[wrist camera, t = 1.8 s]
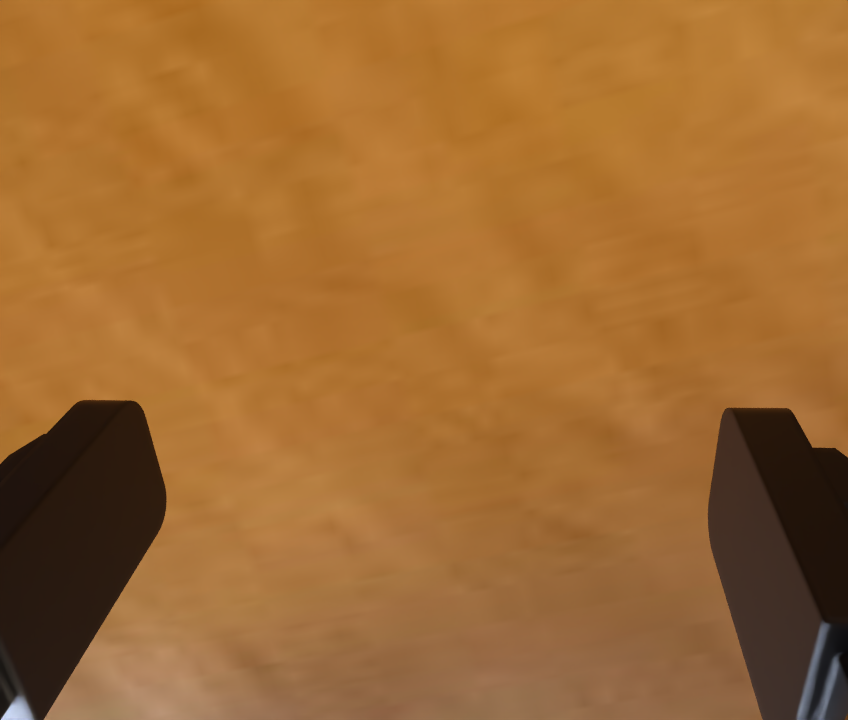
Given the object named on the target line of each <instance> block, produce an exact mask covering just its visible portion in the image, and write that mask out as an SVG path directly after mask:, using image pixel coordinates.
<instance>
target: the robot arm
mask: <svg viewBox="0 0 848 720" xmlns="http://www.w3.org/2000/svg"><path fill="white" fill-rule="evenodd" d="M165 511H166V489H165V484H164V481H163V477H162V474H161V470H160V467H159V463H158V460H157V456H156V452H155V449H154V445H153V442H152V438H151V435H150V431H149V427H148V424H147V420H146V417H145V414H144V411H143V410H142V408H141V406H140V405H139V404H138V403H137V402H135V401H115V400H83V401H79V402H77V403H76V404H75V405H74V406H73V407H72V408H71V409H70V410H69V411H68V412H67V413H66V414H65V415H64V416H63V417H62V418H61V419H60V420H59V421H58V422H57V423H56V424H55V425H54V427H53V428H52V429H51V430H50V431H49V432H48V433H47V434H43V435H41V436H40V437H38V438H37V439H35V440H33V441H32V442H30V443H28V444H27V445H25V446H23V447H22V448H20V449H19V450H17V451H15V452H14V453H12V454H10V455H9V456H8V457H7V458H6V459H5V460H4V461H3V462H2V463H1V464H0V720H44V718H45V716H46V715H47V713H48V711H49V710H50V708H51V707H52V705H53V703H54V702H55V700H56V698H57V697H58V695H59V694H60V692H61V690H62V689H63V687H64V685H65V684H66V682H67V680H68V679H69V677H70V676H71V674H72V672H73V671H74V669H75V667H76V666H77V664H78V663H79V661H80V659H81V658H82V656H83V654H84V653H85V651H86V649H87V648H88V646H89V645H90V643H91V641H92V640H93V638H94V636H95V635H96V633H97V632H98V630H99V628H100V627H101V625H102V623H103V622H104V620H105V618H106V617H107V615H108V614H109V612H110V610H111V609H112V607H113V605H114V604H115V602H116V601H117V599H118V597H119V596H120V594H121V592H122V591H123V589H124V587H125V586H126V584H127V583H128V581H129V579H130V578H131V576H132V574H133V573H134V571H135V570H136V568H137V566H138V565H139V563H140V561H141V560H142V558H143V556H144V555H145V553H146V552H147V550H148V548H149V547H150V545H151V543H152V542H153V540H154V539H155V537H156V535H157V534H158V532H159V530H160V528H161V526H162V523H163V520H164V516H165ZM708 529H709V538H710V544H711V549H712V553H713V556H714V559H715V563H716V566H717V569H718V573H719V576H720V579H721V583H722V586H723V589H724V593H725V596H726V599H727V602H728V606H729V609H730V612H731V616H732V619H733V622H734V626H735V629H736V632H737V636H738V639H739V642H740V646H741V649H742V652H743V656H744V659H745V662H746V666H747V669H748V672H749V676H750V679H751V682H752V686H753V689H754V692H755V696H756V699H757V702H758V705H759V709H760V712H761V715H762V719H763V720H848V458H847V457H846V456H845V455H844V454H842V453H841V452H840V451H838V450H837V449H836V448H812V446H811V444H810V443H809V441H808V439H807V437H806V435H805V434H804V432H803V430H802V428H801V426H800V425H799V423H798V421H797V419H796V417H795V416H794V414H793V412H792V411H791V410H790V409H787V408H727V409H725V411H724V413H723V415H722V419H721V423H720V429H719V436H718V443H717V450H716V456H715V463H714V470H713V477H712V483H711V490H710V497H709V505H708Z"/></svg>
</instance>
